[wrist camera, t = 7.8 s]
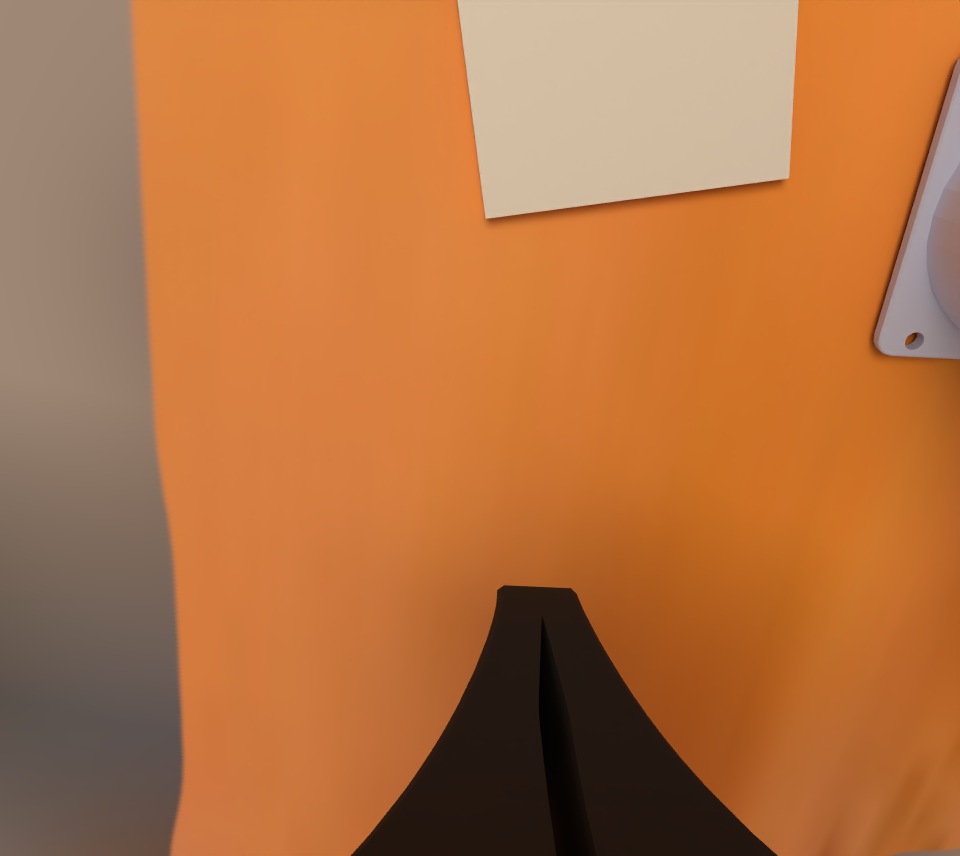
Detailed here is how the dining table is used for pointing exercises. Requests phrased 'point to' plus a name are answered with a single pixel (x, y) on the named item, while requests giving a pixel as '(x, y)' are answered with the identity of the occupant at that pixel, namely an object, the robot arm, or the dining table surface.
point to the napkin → (626, 97)
